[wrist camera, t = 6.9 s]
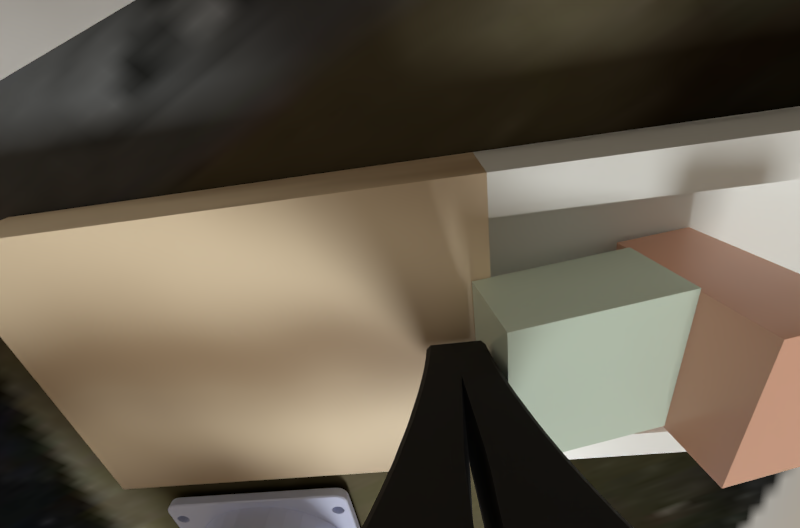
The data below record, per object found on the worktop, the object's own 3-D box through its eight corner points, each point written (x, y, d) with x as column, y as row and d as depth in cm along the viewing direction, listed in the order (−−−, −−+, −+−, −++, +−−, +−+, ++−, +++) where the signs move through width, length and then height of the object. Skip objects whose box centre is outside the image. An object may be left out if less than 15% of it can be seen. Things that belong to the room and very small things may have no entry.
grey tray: (842, 384, 13) (911, 436, 11) (486, 413, 14) (497, 464, 12) (1013, 76, 8) (1173, 79, 7) (472, 151, 10) (486, 172, 8)
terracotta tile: (600, 361, 11) (661, 346, 12) (721, 488, 8) (806, 465, 8) (617, 242, 10) (688, 227, 10) (784, 339, 6) (892, 313, 6)
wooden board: (486, 413, 14) (497, 464, 12) (157, 439, 15) (123, 489, 13) (472, 151, 10) (486, 172, 8) (8, 217, 11) (-72, 247, 9)
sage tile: (611, 369, 11) (664, 425, 9) (479, 401, 11) (509, 466, 9) (630, 247, 9) (702, 287, 7) (472, 281, 9) (507, 332, 7)
